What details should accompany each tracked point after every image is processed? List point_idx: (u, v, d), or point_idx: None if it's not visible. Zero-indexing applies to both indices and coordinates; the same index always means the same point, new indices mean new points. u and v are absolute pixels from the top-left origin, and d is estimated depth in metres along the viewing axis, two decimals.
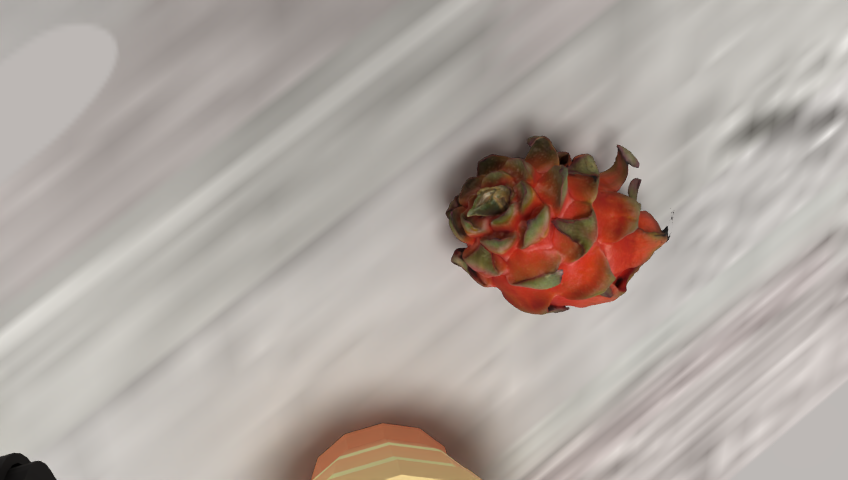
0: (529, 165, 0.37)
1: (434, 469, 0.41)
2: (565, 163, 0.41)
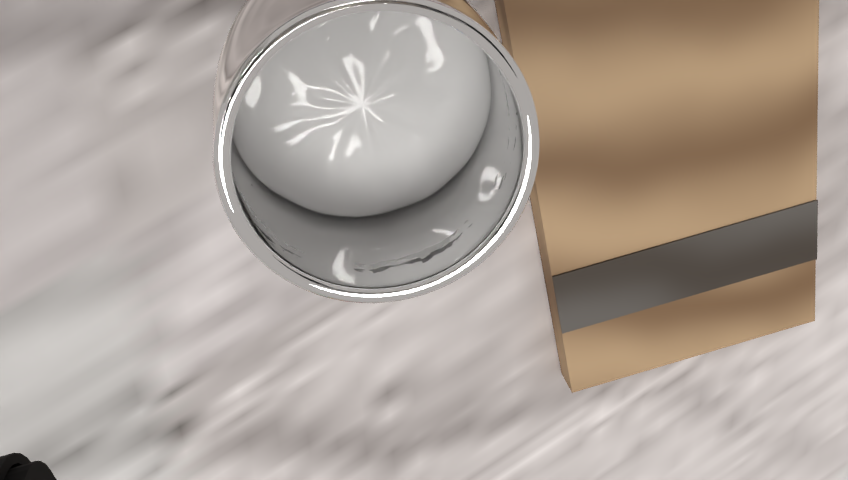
0: None
1: None
2: None
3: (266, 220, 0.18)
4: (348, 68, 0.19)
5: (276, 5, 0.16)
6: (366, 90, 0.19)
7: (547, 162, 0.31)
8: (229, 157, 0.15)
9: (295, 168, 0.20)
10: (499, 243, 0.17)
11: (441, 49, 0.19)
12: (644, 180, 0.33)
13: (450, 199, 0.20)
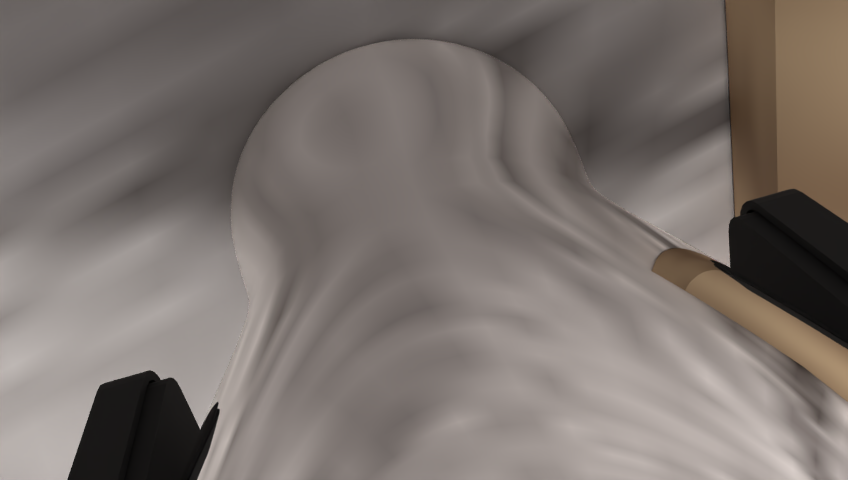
0: None
1: None
2: None
3: None
4: None
5: None
6: None
7: None
8: None
9: None
10: None
11: None
12: None
13: None
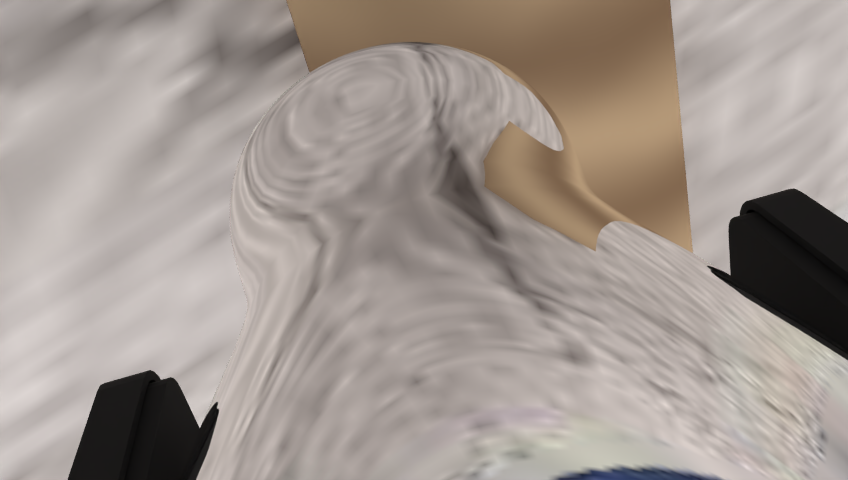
0: None
1: None
2: None
3: None
4: None
5: None
6: None
7: None
8: None
9: None
10: None
11: None
12: None
13: None
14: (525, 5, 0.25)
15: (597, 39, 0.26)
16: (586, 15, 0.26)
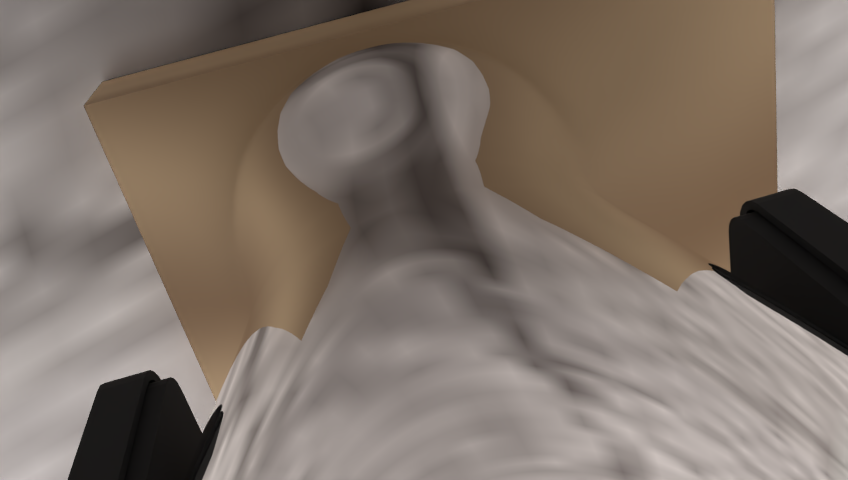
0: None
1: None
2: None
3: None
4: None
5: None
6: None
7: None
8: None
9: None
10: None
11: None
12: None
13: None
14: None
15: None
16: (637, 197, 0.15)
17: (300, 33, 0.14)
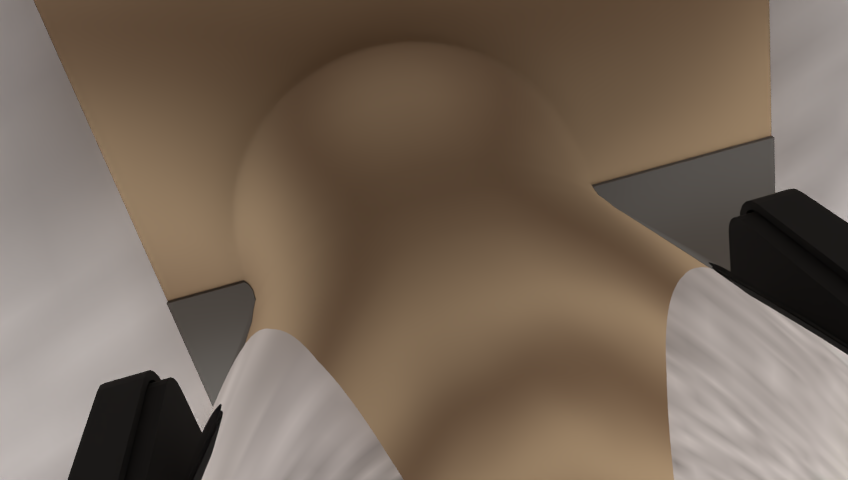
0: None
1: None
2: None
3: None
4: None
5: None
6: None
7: (85, 20, 0.13)
8: None
9: None
10: None
11: None
12: None
13: None
14: None
15: None
16: None
17: None
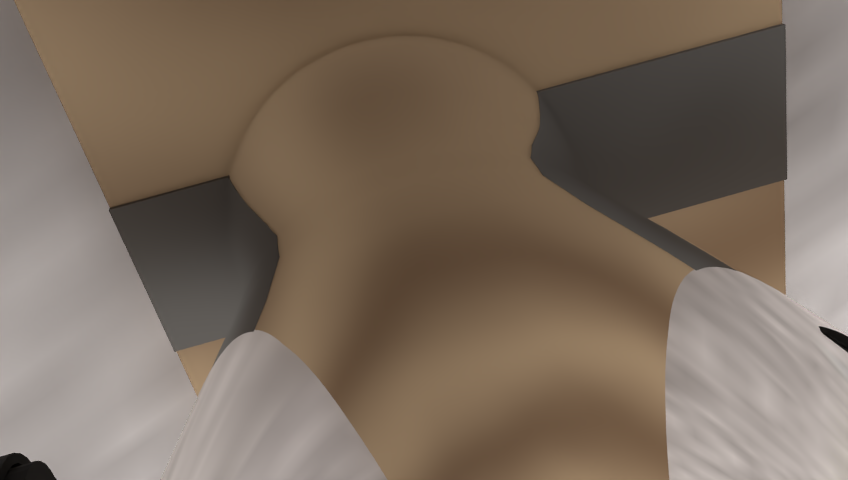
0: None
1: None
2: None
3: None
4: None
5: None
6: None
7: None
8: None
9: None
10: None
11: None
12: None
13: None
14: None
15: None
16: None
17: None
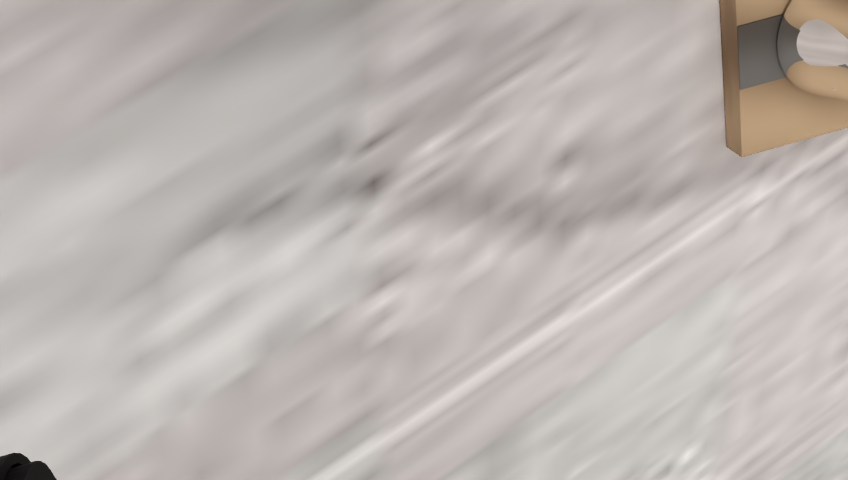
0: None
1: None
2: None
3: None
4: None
5: None
6: None
7: None
8: None
9: None
10: None
11: None
12: None
13: None
14: None
15: None
16: None
17: None
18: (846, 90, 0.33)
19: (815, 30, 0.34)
